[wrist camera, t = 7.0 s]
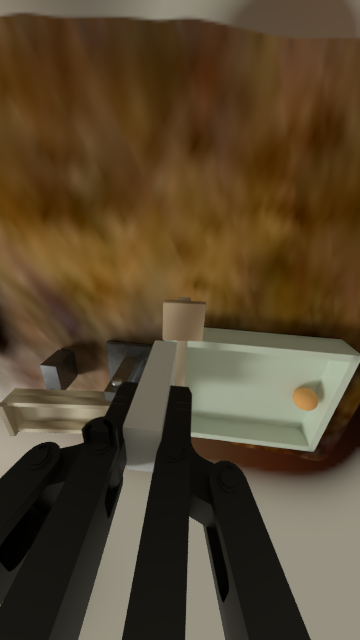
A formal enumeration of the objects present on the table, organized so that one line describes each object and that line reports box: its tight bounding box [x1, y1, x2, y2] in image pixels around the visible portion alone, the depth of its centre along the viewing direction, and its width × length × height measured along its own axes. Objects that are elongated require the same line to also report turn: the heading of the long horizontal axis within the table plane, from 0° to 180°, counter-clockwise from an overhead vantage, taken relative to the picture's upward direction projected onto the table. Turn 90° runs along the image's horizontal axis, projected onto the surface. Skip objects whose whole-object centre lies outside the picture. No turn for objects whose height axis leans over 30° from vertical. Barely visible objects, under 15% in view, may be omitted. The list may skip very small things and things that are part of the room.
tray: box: [164, 327, 360, 452], centre depth 31 cm, size 24×18×4 cm
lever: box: [0, 297, 206, 436], centre depth 23 cm, size 22×18×3 cm
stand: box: [40, 341, 153, 401], centre depth 30 cm, size 18×10×9 cm, turn 87°
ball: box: [293, 387, 318, 411], centre depth 30 cm, size 3×3×3 cm
